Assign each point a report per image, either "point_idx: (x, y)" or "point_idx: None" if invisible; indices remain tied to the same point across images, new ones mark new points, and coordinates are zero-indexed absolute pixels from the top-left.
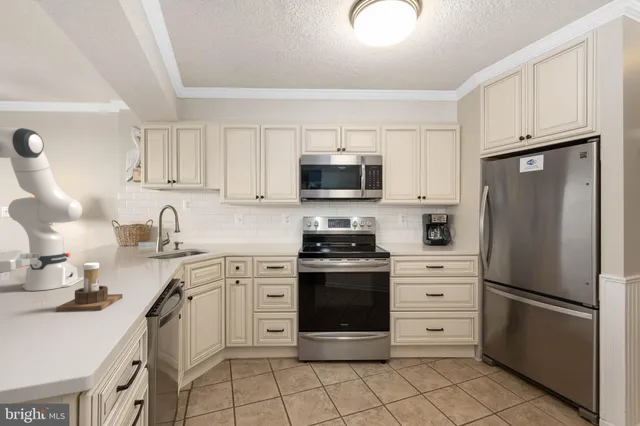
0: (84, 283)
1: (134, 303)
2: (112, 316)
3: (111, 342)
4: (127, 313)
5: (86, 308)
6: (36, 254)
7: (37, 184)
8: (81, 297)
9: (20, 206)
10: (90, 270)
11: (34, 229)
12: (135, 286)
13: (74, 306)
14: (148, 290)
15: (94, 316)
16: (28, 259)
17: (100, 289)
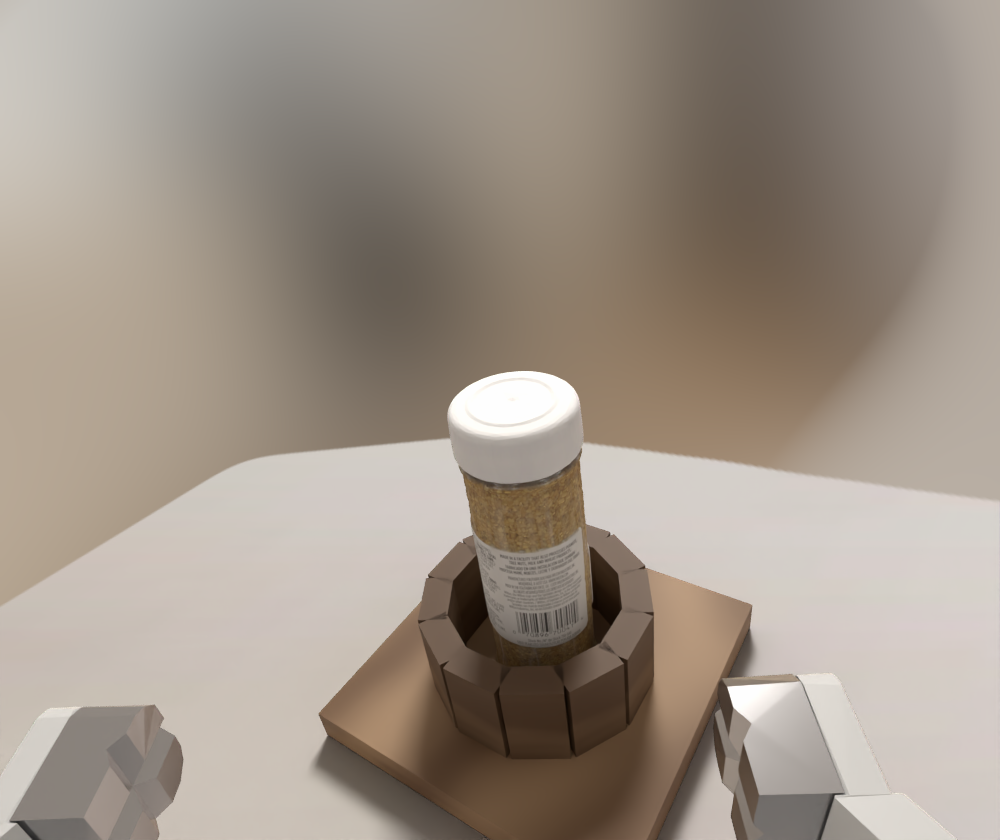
0: (557, 583)
1: (676, 494)
2: (927, 577)
3: None
4: (885, 520)
5: (716, 693)
6: (127, 742)
7: None
8: (635, 674)
9: None
10: (581, 451)
11: None
12: (267, 486)
13: (676, 756)
14: (425, 445)
15: (893, 659)
16: (917, 816)
17: None
